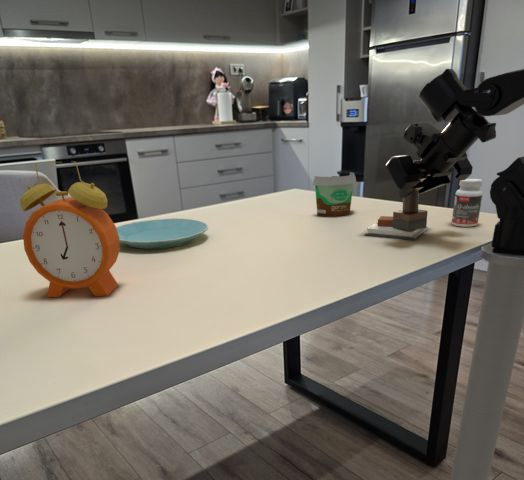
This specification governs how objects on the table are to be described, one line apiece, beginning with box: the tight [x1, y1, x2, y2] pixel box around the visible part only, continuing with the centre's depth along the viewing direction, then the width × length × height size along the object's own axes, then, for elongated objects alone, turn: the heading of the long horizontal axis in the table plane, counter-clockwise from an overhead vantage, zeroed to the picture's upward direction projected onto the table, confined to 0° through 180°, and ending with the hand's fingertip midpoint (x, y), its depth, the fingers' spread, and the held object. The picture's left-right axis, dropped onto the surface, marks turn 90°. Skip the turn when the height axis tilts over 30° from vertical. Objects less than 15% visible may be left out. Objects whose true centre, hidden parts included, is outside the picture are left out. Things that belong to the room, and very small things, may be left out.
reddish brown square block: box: [377, 215, 393, 227], centre depth 107 cm, size 4×4×2 cm
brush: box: [392, 159, 428, 232], centre depth 101 cm, size 5×5×14 cm
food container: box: [312, 171, 357, 218], centre depth 125 cm, size 12×6×10 cm, turn 117°
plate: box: [116, 218, 209, 250], centre depth 109 cm, size 22×22×3 cm
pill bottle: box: [451, 178, 483, 228], centre depth 109 cm, size 6×6×10 cm
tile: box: [363, 222, 428, 241], centre depth 107 cm, size 11×11×2 cm
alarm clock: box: [19, 161, 121, 298], centre depth 75 cm, size 13×6×20 cm, turn 87°
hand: (406, 195), depth 102 cm, fingers closed on brush, 3 cm apart
